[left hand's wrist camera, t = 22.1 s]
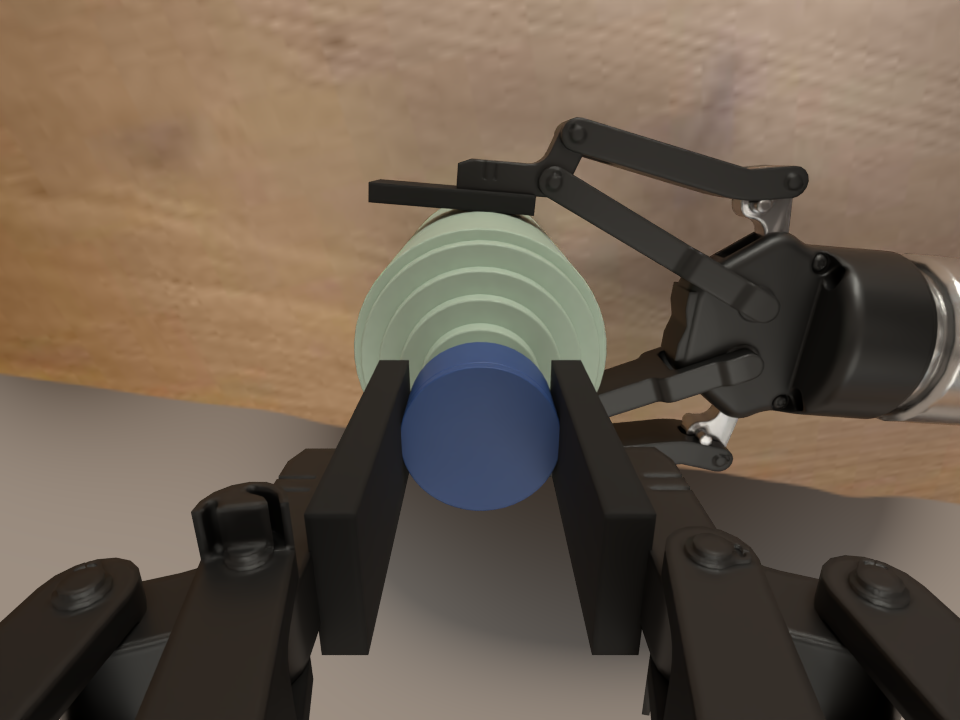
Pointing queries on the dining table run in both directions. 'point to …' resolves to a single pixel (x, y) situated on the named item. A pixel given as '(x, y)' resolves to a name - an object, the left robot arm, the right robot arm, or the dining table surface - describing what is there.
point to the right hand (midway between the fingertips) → (373, 297)
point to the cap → (480, 427)
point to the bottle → (480, 297)
